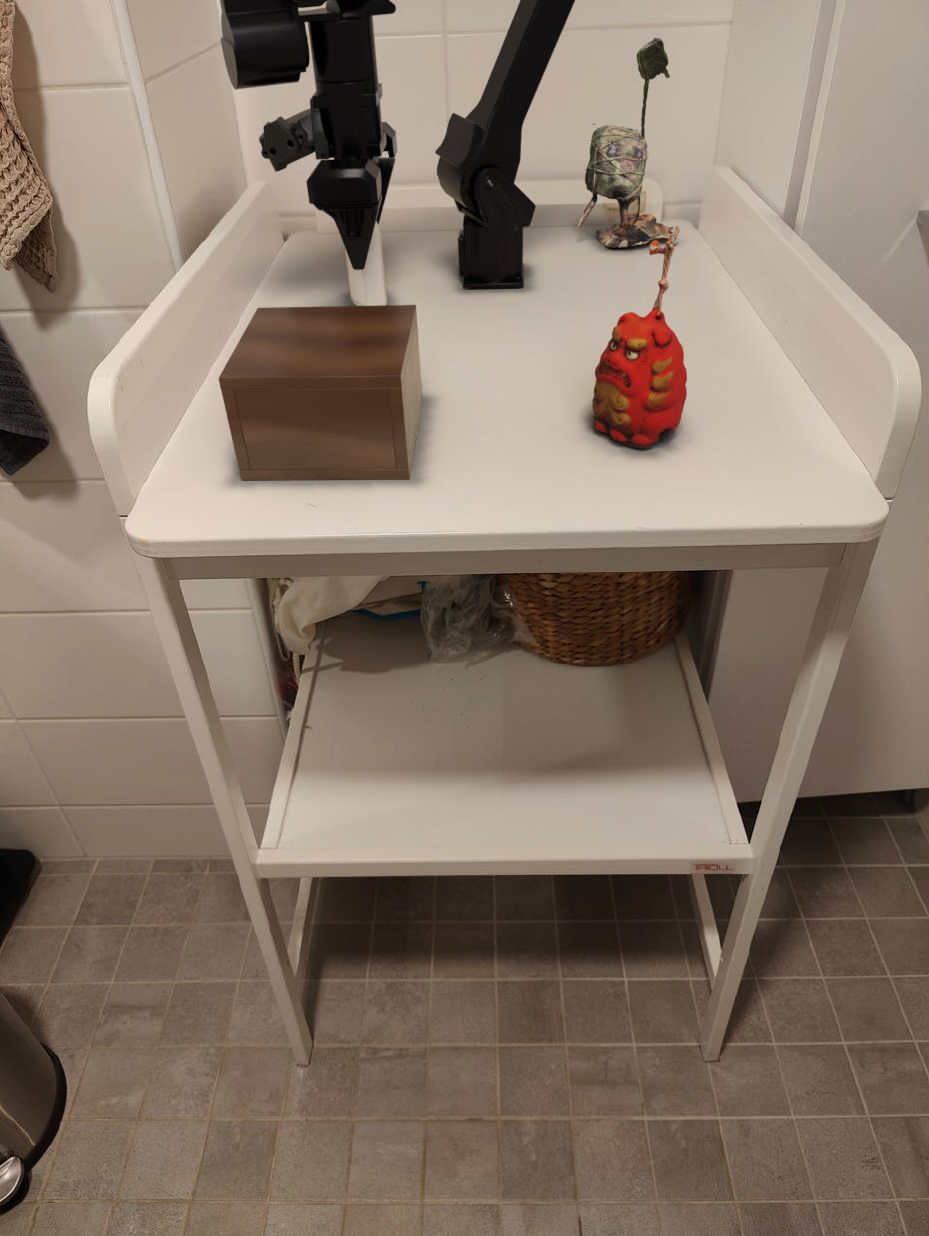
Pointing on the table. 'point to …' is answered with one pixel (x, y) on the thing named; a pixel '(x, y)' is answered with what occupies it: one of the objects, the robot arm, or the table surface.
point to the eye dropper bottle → (369, 276)
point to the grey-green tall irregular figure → (626, 165)
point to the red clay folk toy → (642, 374)
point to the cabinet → (325, 393)
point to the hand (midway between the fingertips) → (364, 253)
